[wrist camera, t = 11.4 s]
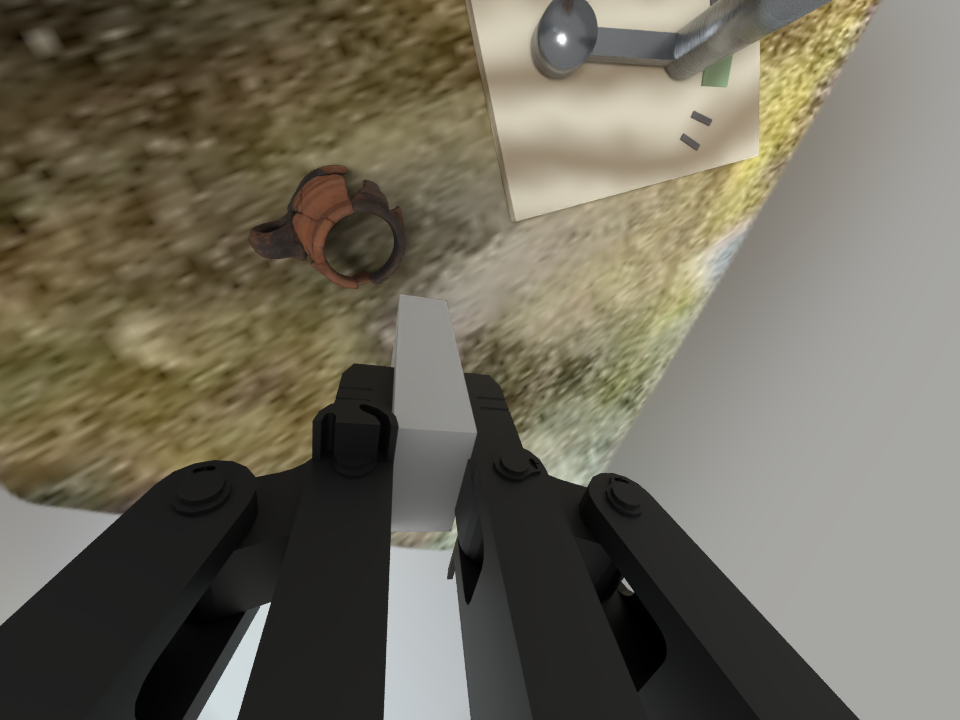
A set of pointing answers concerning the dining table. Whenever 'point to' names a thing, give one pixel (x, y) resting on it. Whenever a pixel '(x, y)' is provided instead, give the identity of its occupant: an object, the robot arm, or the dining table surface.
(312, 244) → the pottery mug
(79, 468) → the dining table surface
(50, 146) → the dining table surface
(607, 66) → the dial board
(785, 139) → the dining table surface
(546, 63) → the lever
